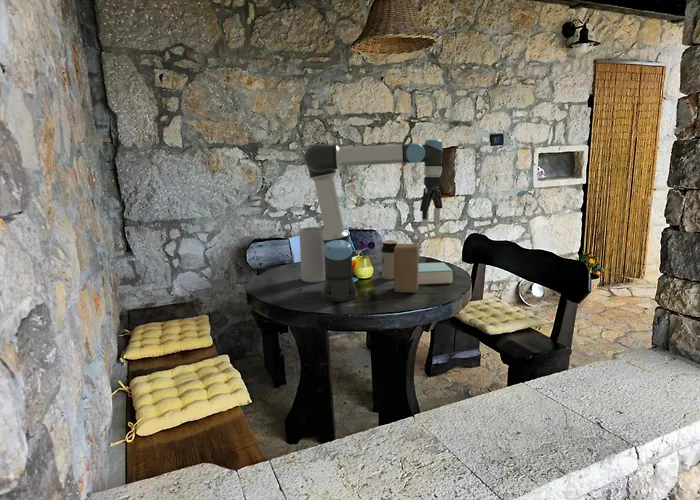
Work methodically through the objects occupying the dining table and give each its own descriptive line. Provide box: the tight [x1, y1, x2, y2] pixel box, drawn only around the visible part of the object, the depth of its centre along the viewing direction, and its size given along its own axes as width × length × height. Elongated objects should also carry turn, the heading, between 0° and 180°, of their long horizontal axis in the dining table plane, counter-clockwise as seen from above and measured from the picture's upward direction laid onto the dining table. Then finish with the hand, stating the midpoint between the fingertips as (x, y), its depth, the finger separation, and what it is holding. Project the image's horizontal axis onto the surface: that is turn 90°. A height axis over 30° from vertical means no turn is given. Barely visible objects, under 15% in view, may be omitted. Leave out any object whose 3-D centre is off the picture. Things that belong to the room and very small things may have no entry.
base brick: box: [418, 262, 454, 285], centre depth 224 cm, size 16×16×6 cm
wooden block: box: [393, 243, 419, 294], centre depth 206 cm, size 10×10×20 cm
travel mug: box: [381, 239, 398, 280], centre depth 228 cm, size 8×8×18 cm
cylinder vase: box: [298, 226, 325, 284], centre depth 227 cm, size 12×12×25 cm
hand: (430, 224), depth 208 cm, fingers open, 13 cm apart
